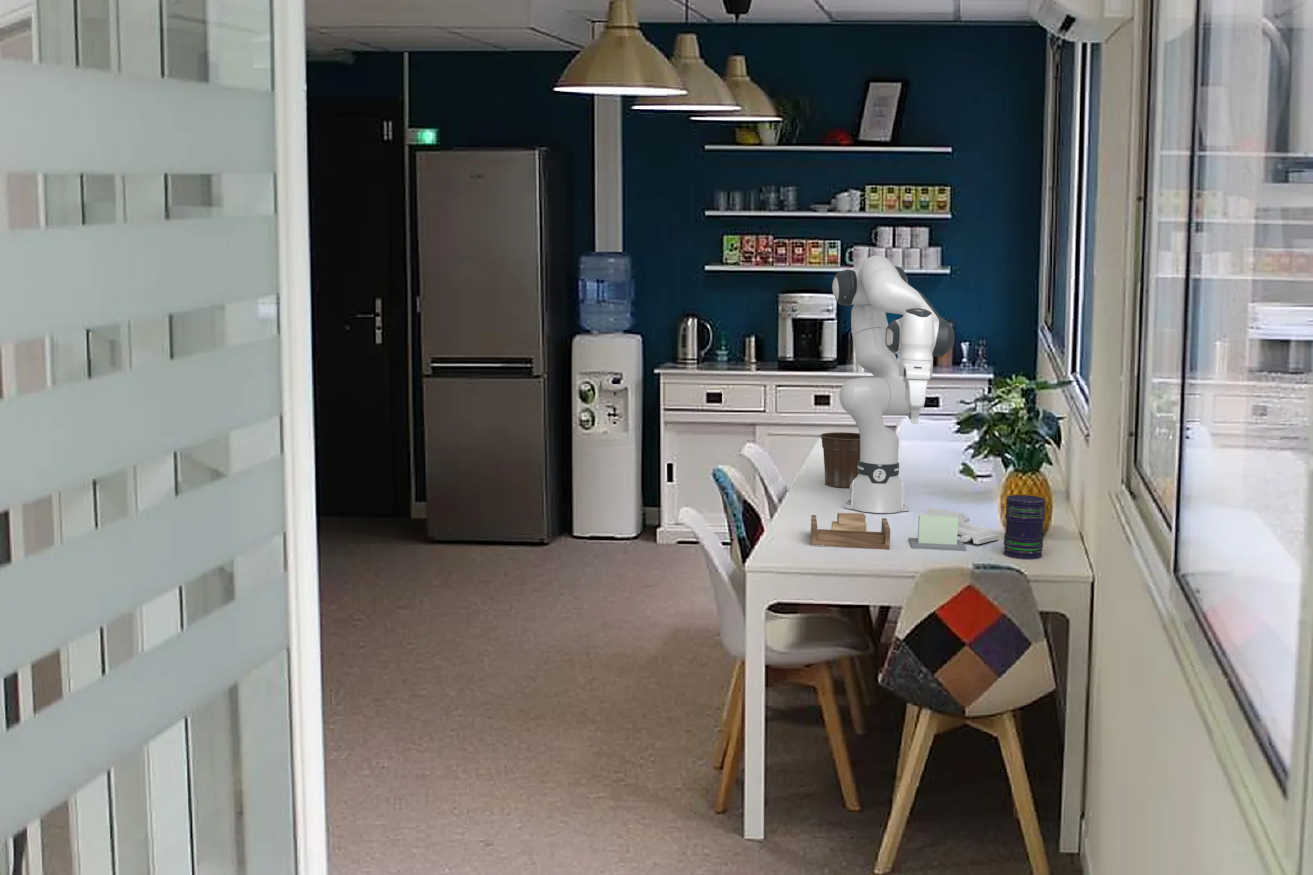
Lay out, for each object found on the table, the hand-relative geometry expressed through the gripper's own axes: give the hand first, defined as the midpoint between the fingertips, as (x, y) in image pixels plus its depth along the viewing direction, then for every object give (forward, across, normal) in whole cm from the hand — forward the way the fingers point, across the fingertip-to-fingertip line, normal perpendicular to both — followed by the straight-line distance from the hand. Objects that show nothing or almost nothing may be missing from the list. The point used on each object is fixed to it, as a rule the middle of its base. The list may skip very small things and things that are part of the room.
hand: (913, 421), depth 435 cm
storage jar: (+31, +20, +28) cm, 47 cm away
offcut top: (+27, +7, -16) cm, 32 cm away
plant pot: (+31, -80, -14) cm, 87 cm away
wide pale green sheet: (+30, +11, +7) cm, 33 cm away
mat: (+31, +11, +7) cm, 34 cm away
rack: (+31, +12, -16) cm, 37 cm away
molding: (+31, -10, +14) cm, 35 cm away
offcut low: (+30, +7, -16) cm, 35 cm away
